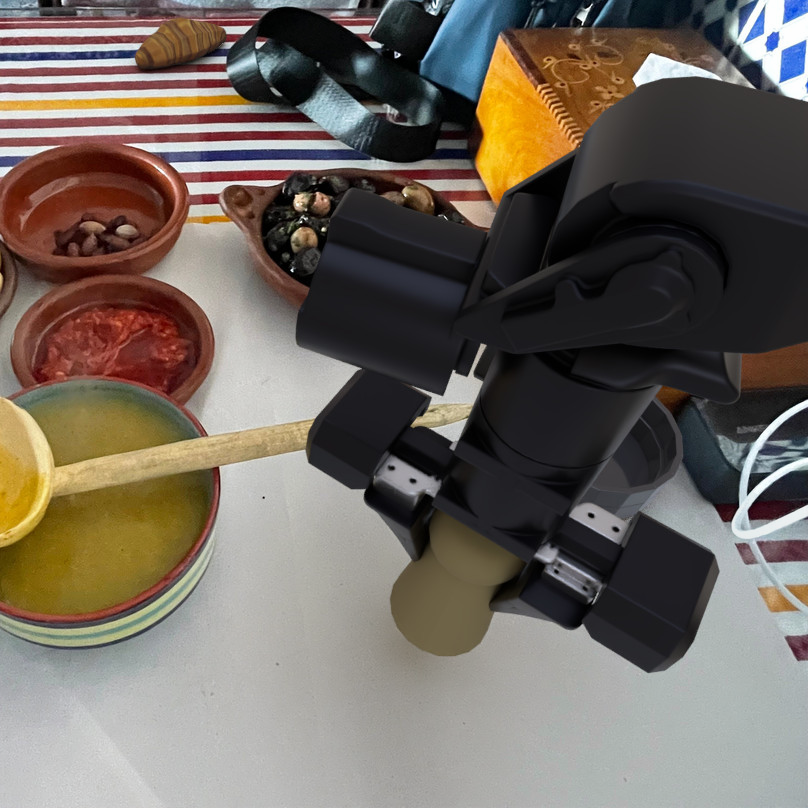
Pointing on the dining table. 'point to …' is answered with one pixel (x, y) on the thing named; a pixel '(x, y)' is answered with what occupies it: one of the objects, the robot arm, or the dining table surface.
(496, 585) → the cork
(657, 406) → the dark grey faceted bowl
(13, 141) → the dining table surface
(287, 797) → the dining table surface
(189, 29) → the croissant
